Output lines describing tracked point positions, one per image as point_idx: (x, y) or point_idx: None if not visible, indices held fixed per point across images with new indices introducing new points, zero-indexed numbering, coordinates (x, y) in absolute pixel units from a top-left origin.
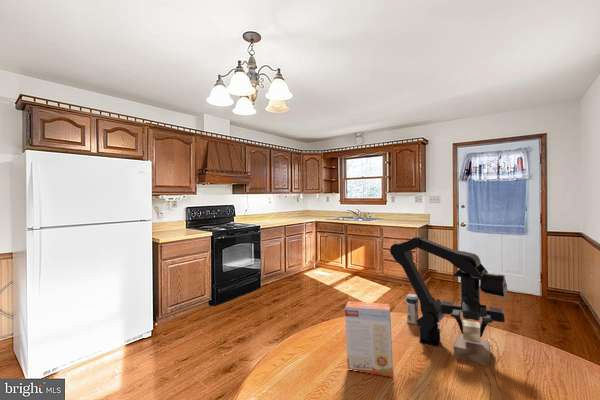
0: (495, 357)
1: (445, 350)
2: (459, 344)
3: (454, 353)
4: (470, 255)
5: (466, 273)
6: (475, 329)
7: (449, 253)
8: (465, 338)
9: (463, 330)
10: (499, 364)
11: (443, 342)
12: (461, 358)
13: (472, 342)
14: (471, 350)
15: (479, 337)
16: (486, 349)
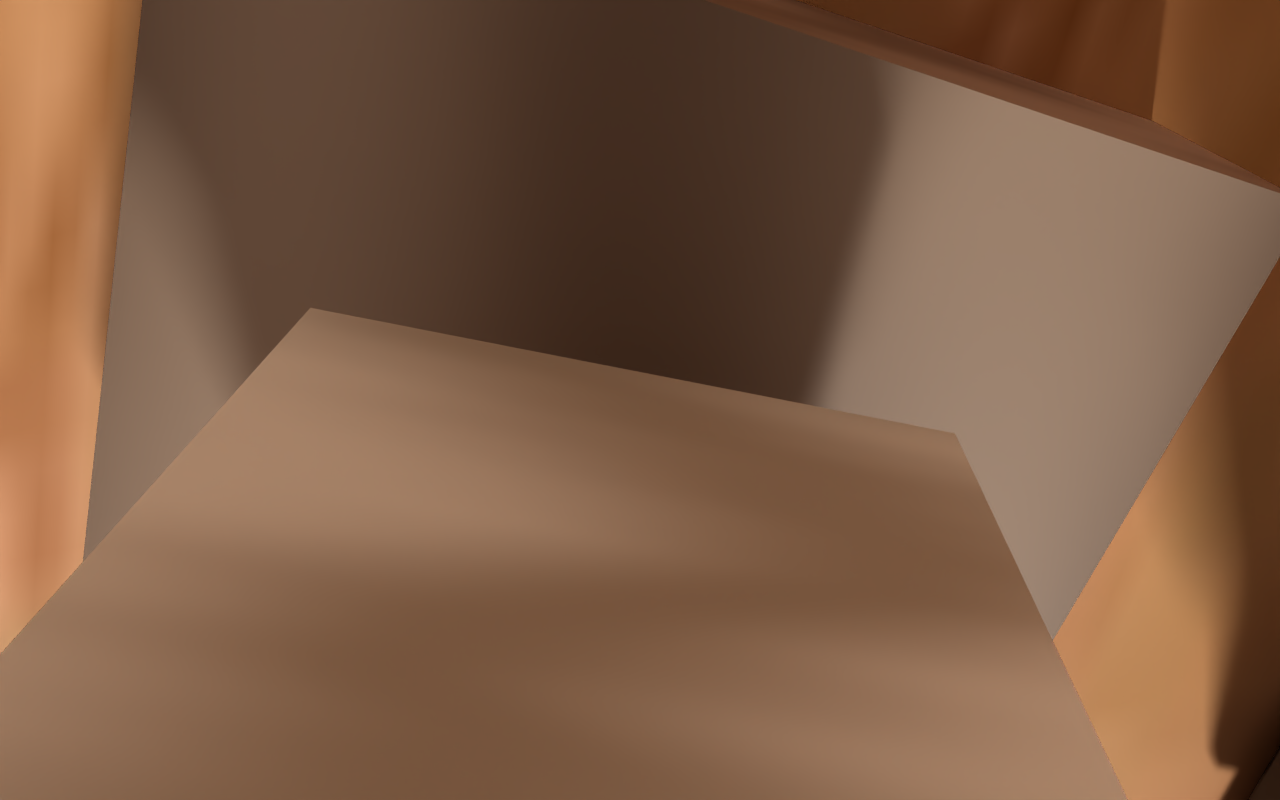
0: (104, 347)
1: (1257, 410)
2: (1030, 385)
3: (1176, 137)
4: None
5: None
6: (299, 756)
7: None
8: (886, 460)
9: (1076, 725)
10: (34, 7)
11: (1151, 760)
12: (971, 62)
13: None
14: (730, 9)
15: (255, 431)
16: (195, 232)
